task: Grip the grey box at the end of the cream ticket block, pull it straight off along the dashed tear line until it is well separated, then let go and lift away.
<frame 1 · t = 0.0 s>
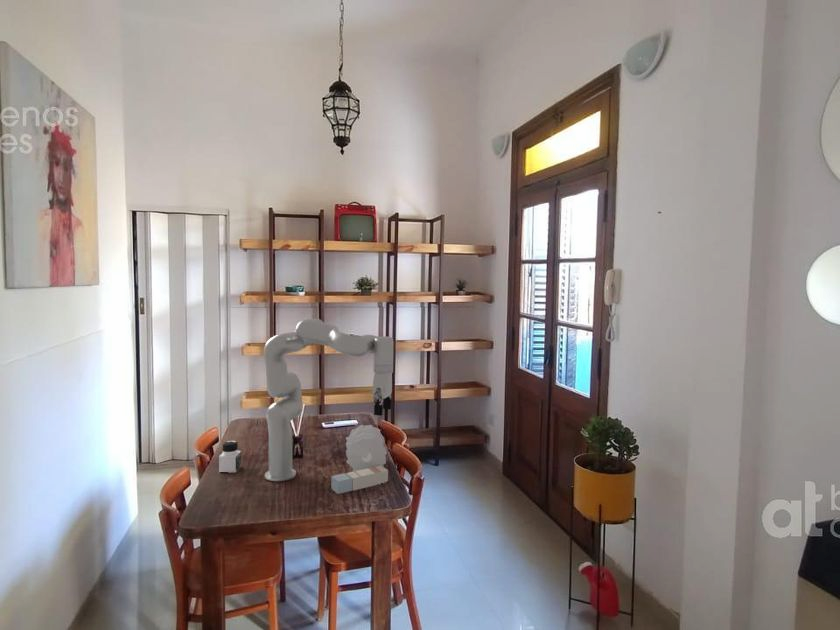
hand: (382, 412, 192), 31 cm above the table, tool pointing down, fingers open, 9 cm apart
grey box: (341, 483, 193), point 3 cm above the table, slide at 0.0 cm
medicine bottle: (230, 470, 212), on the table
ticket block: (367, 483, 199), on the table
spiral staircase: (365, 468, 217), on the table
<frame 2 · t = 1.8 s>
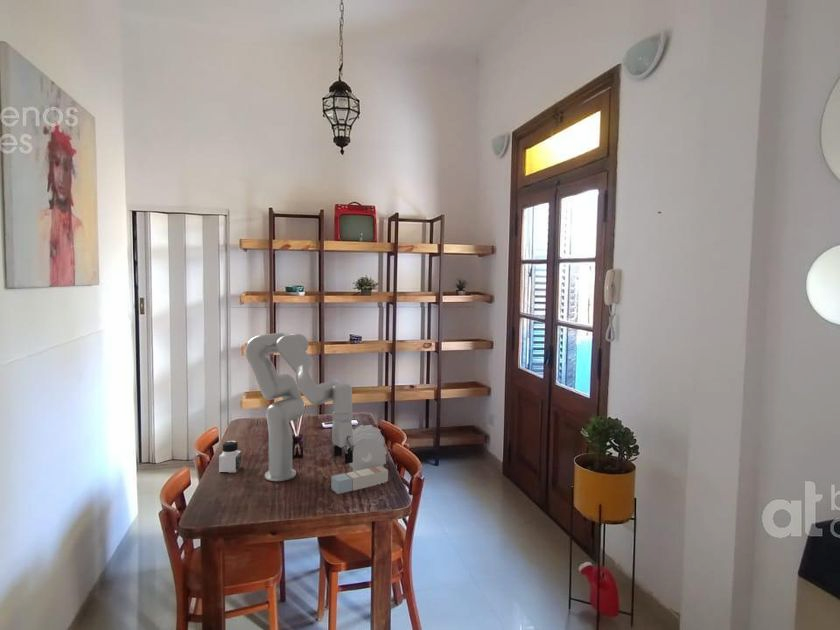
hand: (343, 459, 192), 12 cm above the table, tool pointing down, fingers open, 9 cm apart
nothing on the table moved.
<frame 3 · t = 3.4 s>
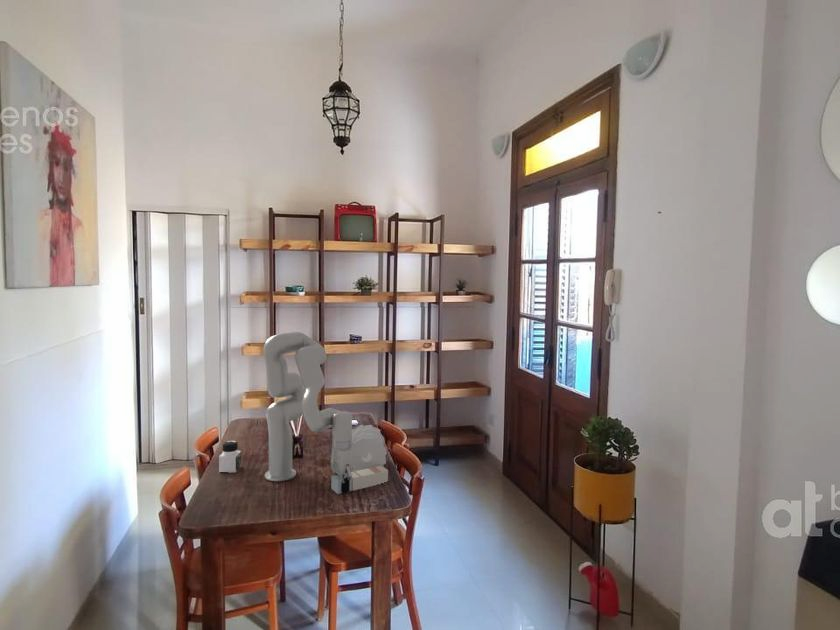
hand: (341, 488, 193), 1 cm above the table, tool pointing down, fingers closed on grey box, 6 cm apart
grey box: (341, 483, 193), point 3 cm above the table, slide at 0.0 cm, touching gripper
everything else where it was.
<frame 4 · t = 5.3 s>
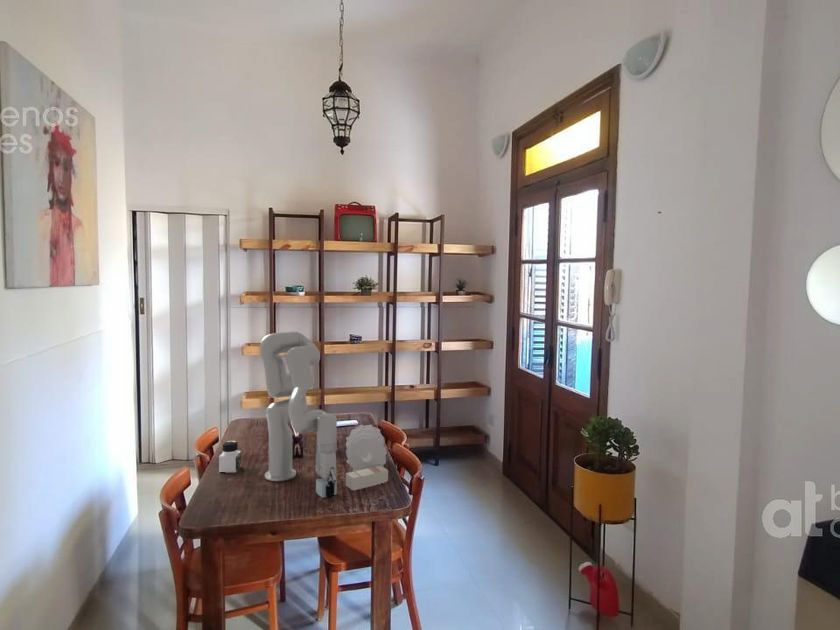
hand: (326, 491, 190), 1 cm above the table, tool pointing down, fingers closed on grey box, 6 cm apart
grey box: (326, 486, 189), point 3 cm above the table, slide at 6.4 cm, touching gripper
everything else where it was.
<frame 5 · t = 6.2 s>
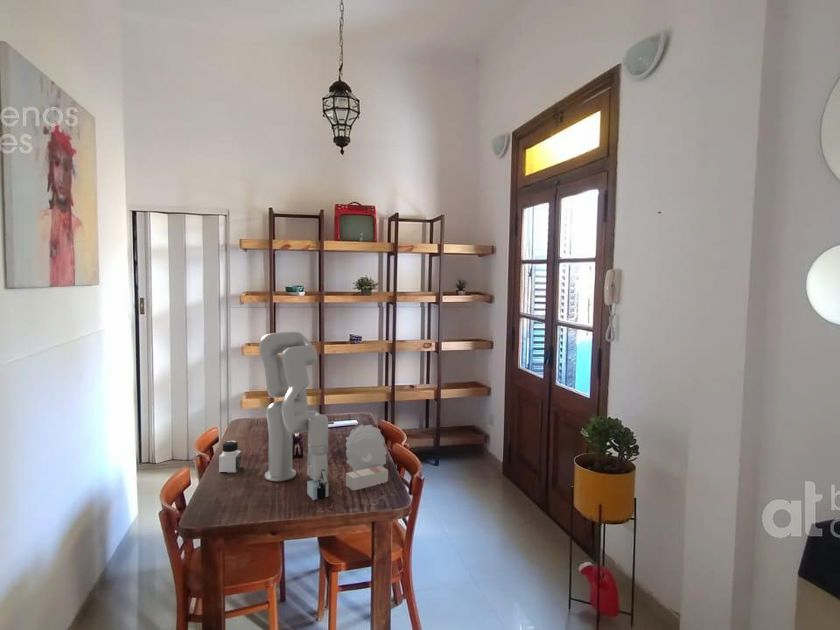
hand: (317, 494, 188), 1 cm above the table, tool pointing down, fingers closed on grey box, 6 cm apart
grey box: (317, 488, 187), point 3 cm above the table, slide at 9.9 cm, touching gripper
everything else where it was.
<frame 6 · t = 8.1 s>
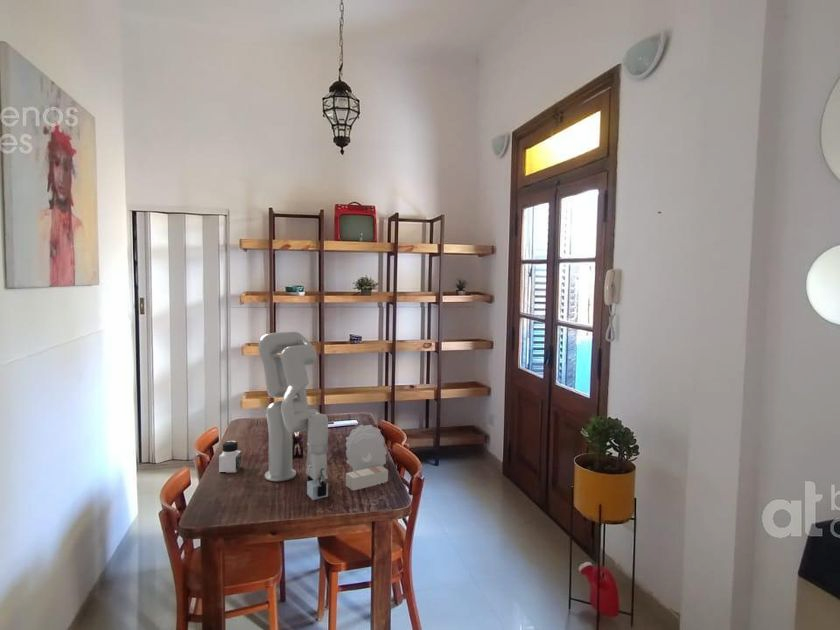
hand: (316, 491, 188), 2 cm above the table, tool pointing down, fingers open, 9 cm apart
grey box: (317, 488, 187), point 3 cm above the table, slide at 10.0 cm
everything else where it was.
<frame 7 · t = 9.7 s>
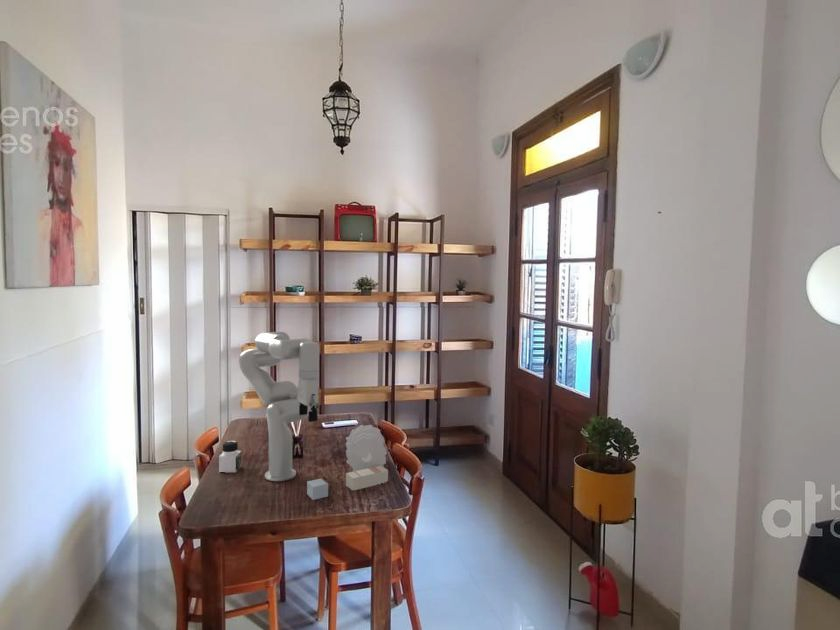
hand: (307, 417, 190), 29 cm above the table, tool pointing down, fingers open, 9 cm apart
nothing on the table moved.
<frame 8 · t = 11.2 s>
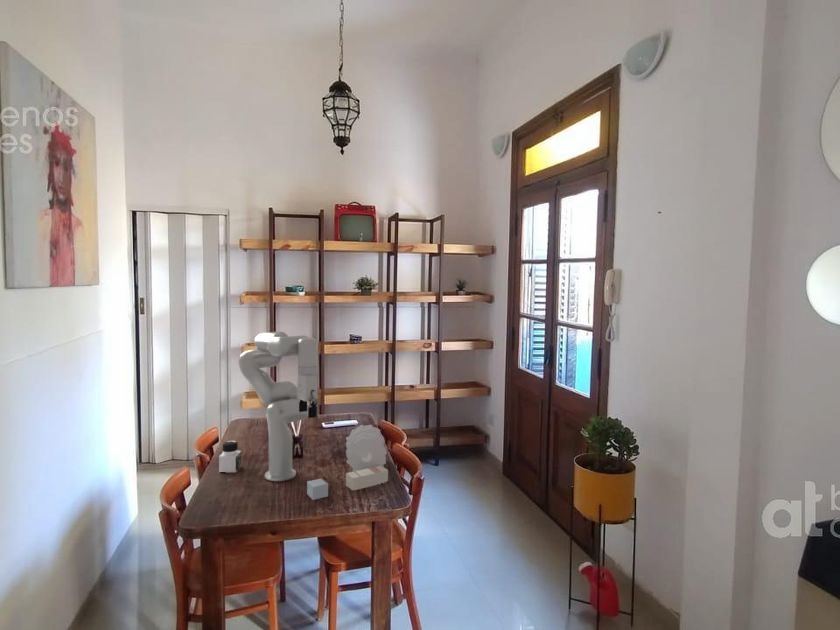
hand: (307, 414, 190), 30 cm above the table, tool pointing down, fingers open, 9 cm apart
nothing on the table moved.
at the end: grey box slide at 10.0 cm; the gripper is holding nothing; grey box touching nothing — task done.
